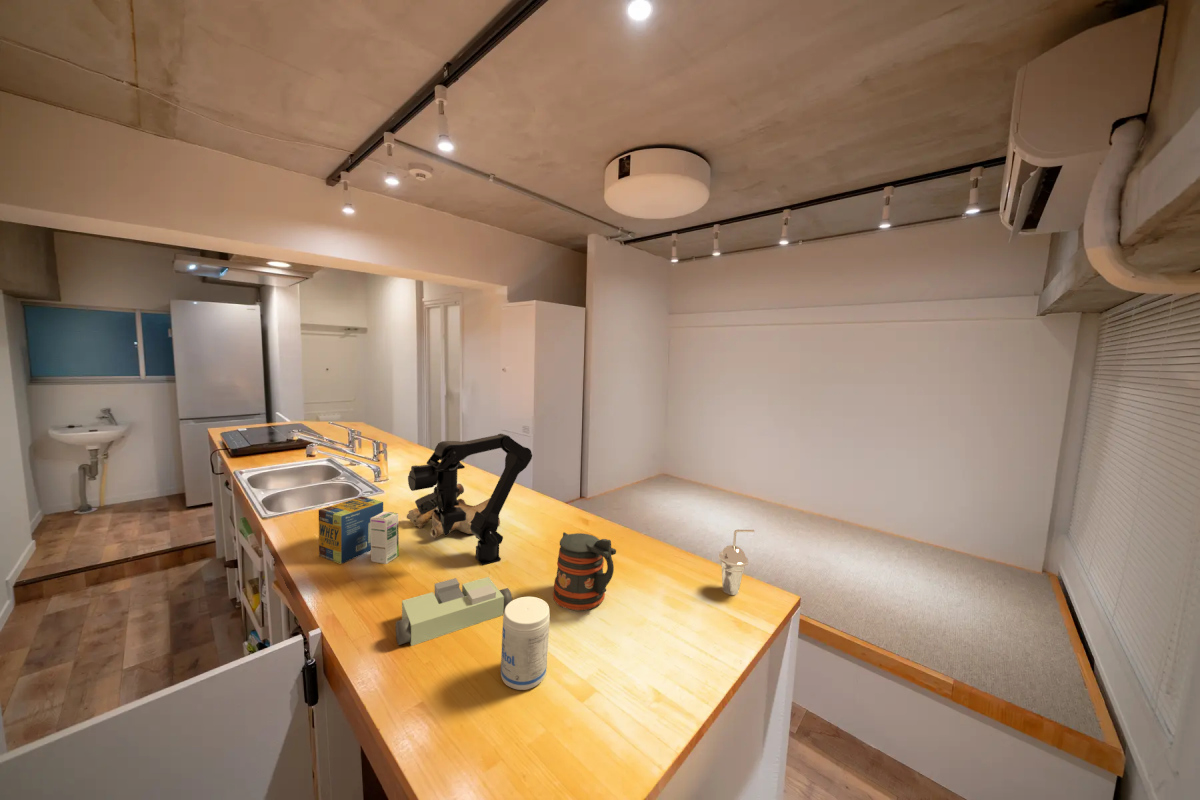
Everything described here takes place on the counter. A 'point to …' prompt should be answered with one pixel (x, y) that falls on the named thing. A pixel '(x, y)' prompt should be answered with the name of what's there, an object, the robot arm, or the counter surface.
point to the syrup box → (384, 537)
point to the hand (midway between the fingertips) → (446, 534)
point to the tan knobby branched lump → (436, 522)
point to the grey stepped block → (448, 591)
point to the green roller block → (450, 612)
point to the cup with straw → (732, 566)
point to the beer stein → (582, 571)
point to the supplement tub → (525, 642)
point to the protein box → (347, 528)
